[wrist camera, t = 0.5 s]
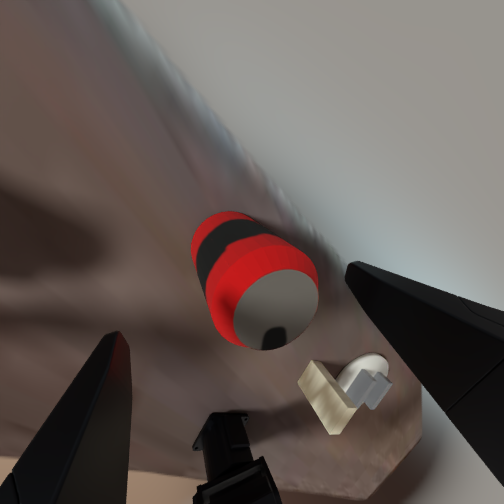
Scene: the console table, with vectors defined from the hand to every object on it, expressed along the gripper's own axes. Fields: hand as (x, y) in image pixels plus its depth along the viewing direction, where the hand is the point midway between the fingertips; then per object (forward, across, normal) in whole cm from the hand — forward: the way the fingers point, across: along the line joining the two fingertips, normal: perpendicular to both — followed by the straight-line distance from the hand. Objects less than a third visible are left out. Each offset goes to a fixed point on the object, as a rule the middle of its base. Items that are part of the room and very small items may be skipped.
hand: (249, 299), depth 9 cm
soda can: (+14, -2, +7) cm, 16 cm away
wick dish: (+8, -22, +38) cm, 45 cm away
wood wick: (+9, -12, +31) cm, 34 cm away
